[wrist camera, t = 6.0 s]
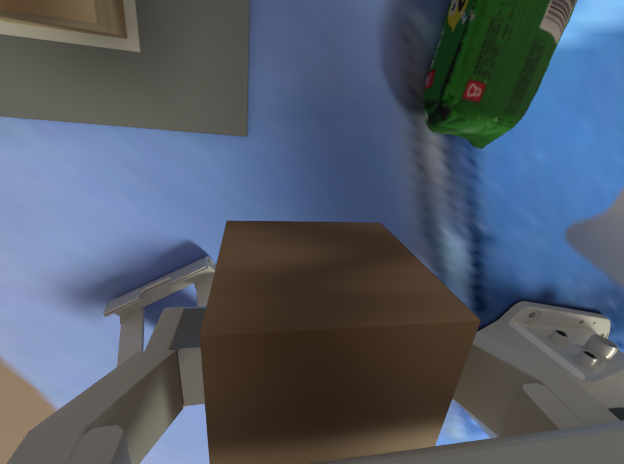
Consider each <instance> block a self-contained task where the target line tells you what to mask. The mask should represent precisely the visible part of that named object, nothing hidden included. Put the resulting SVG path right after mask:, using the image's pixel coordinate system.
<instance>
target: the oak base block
mask: <svg viewBox="0 0 624 464" xmlns="http://www.w3.org/2000/svg"><path fill="white" fill-rule="evenodd" d="M0 20H1V21H4V22H8V23H15V24H23V25H30V26H37V27H44V28H52V29H59V30H66V31H73V32H80V33H88V34H95V35H102V36H109V37H117V38H124V39H127V30H126V21H125V13H124V4H123V0H0Z"/></svg>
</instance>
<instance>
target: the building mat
mask: <svg viewBox="0 0 624 464" xmlns="http://www.w3.org/2000/svg"><path fill="white" fill-rule="evenodd" d="M123 4H124V13H125V21H126V30H127V39H124V38H117V37H109V36H102V35H95V34H88V33H80V32H73V31H66V30H59V29H52V28H44V27H37V26H30V25H23V24H15V23H8V22H4V21H1V20H0V116H2V117H14V118H26V119H38V120H50V121H63V122H75V123H87V124H99V125H111V126H124V127H136V128H148V129H160V130H172V131H185V132H197V133H209V134H221V135H233V136H246V137H247V116H248V54H249V0H123Z"/></svg>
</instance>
